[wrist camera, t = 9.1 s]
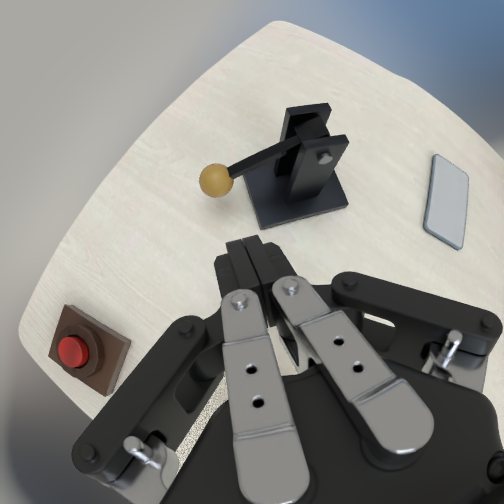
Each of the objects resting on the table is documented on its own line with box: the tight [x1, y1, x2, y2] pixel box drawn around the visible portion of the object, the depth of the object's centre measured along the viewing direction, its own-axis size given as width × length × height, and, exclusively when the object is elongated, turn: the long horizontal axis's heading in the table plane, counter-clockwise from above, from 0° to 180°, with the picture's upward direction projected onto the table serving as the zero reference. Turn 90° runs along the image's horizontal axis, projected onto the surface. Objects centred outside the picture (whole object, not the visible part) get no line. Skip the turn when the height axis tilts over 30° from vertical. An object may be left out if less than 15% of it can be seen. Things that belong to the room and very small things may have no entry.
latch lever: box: [199, 116, 330, 198], centre depth 28 cm, size 14×4×4 cm, turn 107°
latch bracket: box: [243, 103, 349, 230], centre depth 31 cm, size 12×9×14 cm
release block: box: [48, 305, 131, 397], centre depth 30 cm, size 10×8×4 cm
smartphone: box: [424, 154, 469, 250], centre depth 38 cm, size 8×1×15 cm
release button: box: [59, 337, 89, 368], centre depth 27 cm, size 4×4×2 cm
